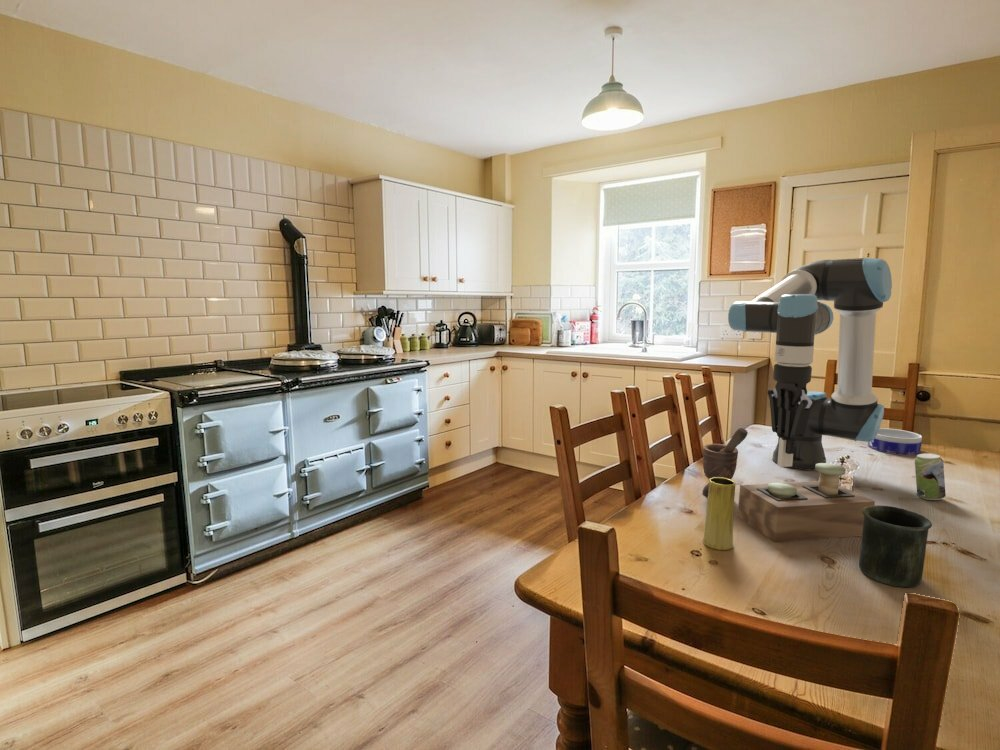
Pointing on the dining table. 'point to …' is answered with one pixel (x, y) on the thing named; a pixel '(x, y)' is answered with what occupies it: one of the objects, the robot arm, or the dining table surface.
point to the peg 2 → (829, 477)
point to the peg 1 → (782, 490)
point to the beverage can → (930, 476)
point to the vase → (719, 514)
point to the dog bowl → (896, 442)
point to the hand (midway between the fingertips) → (784, 465)
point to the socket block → (803, 512)
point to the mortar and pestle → (722, 458)
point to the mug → (893, 545)
